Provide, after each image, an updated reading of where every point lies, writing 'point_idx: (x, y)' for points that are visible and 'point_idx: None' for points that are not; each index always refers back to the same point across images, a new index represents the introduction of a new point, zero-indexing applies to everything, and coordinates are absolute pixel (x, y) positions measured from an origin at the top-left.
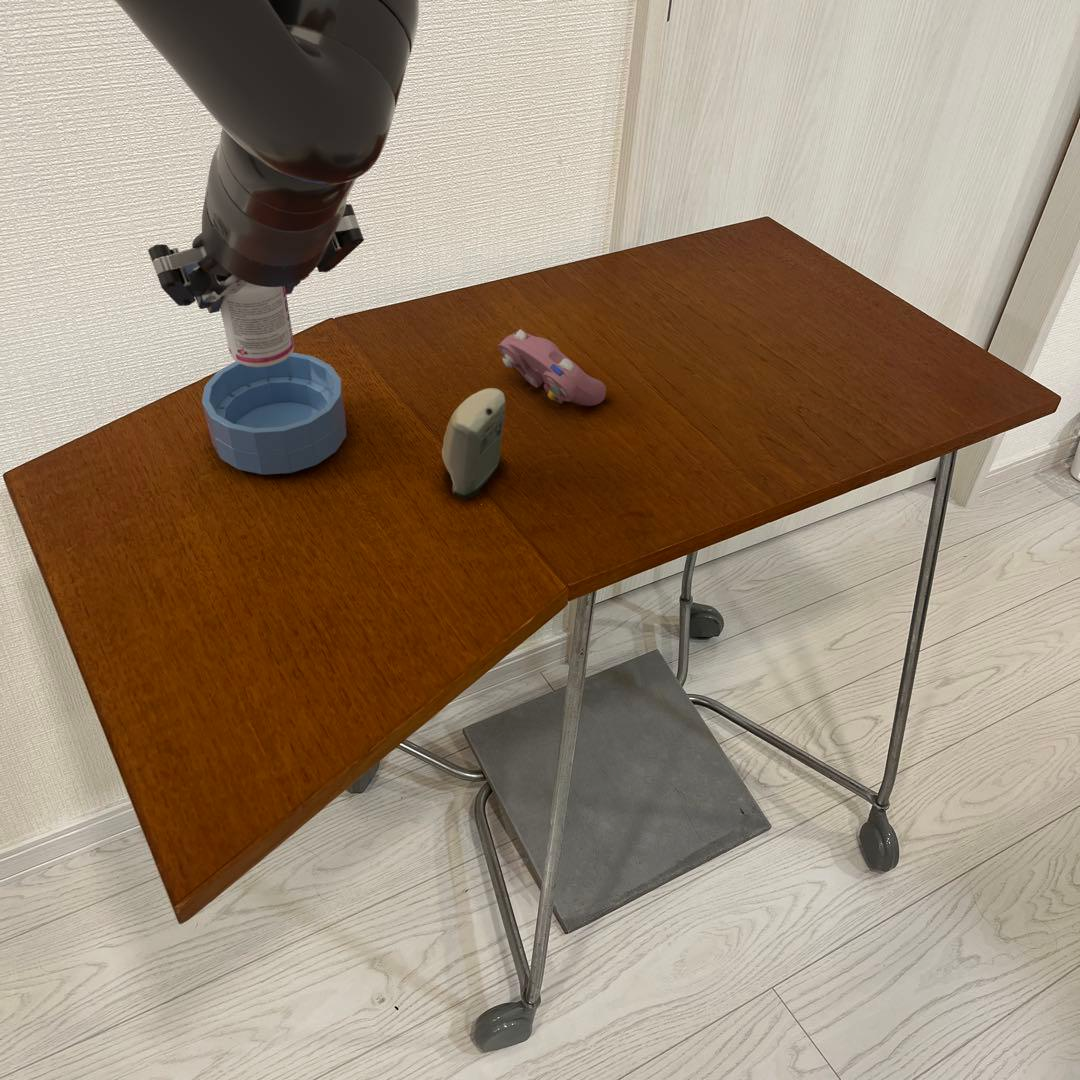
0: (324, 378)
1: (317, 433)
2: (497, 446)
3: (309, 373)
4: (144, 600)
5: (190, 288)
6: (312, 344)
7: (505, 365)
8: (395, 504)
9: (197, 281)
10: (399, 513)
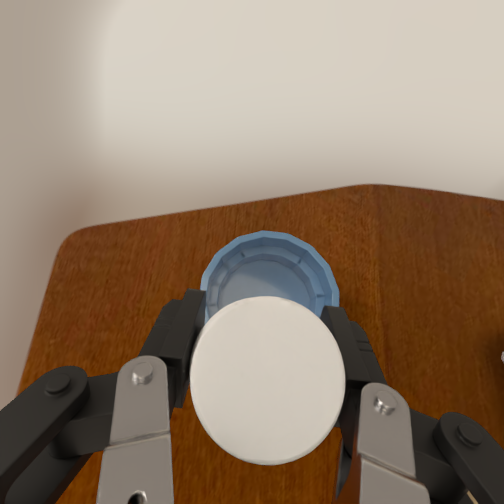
0: (326, 290)
1: None
2: None
3: (317, 271)
4: None
5: (78, 449)
6: (343, 199)
7: (501, 356)
8: (310, 460)
9: (105, 434)
10: (308, 476)
